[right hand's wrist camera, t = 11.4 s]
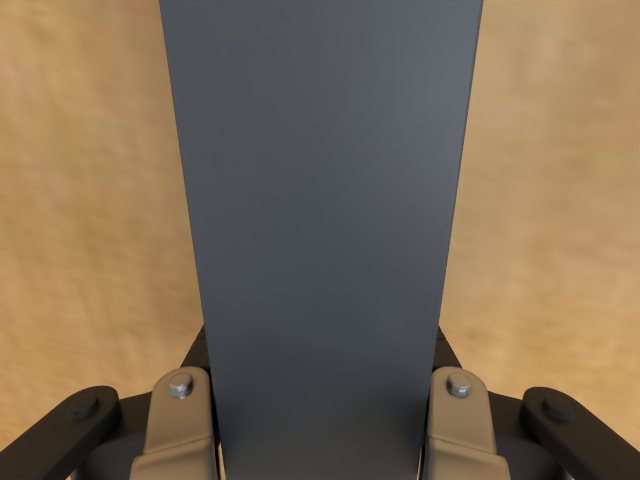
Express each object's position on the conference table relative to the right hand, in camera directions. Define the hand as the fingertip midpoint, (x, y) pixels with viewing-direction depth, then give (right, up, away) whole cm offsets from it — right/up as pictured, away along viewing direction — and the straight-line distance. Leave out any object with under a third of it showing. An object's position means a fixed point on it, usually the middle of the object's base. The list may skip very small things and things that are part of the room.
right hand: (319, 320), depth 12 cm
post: (0, +26, -6) cm, 26 cm away
